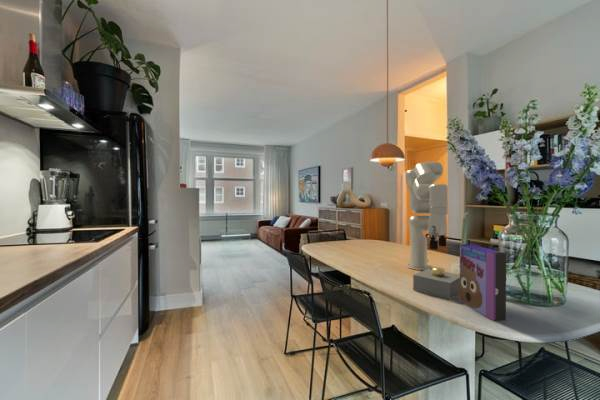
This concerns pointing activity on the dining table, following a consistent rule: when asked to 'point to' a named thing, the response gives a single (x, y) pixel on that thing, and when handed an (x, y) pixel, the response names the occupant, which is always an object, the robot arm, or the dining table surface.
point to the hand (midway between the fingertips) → (438, 247)
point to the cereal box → (483, 281)
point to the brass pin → (438, 272)
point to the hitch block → (437, 284)
